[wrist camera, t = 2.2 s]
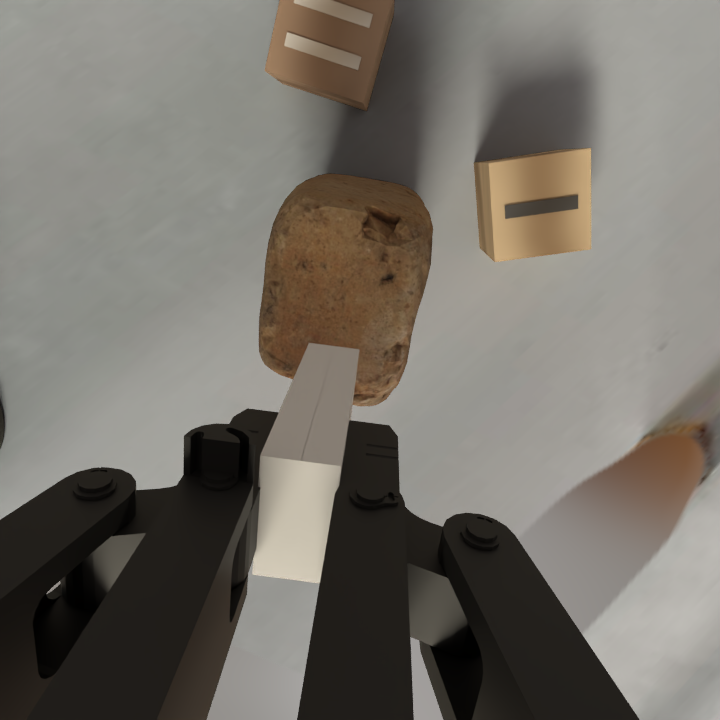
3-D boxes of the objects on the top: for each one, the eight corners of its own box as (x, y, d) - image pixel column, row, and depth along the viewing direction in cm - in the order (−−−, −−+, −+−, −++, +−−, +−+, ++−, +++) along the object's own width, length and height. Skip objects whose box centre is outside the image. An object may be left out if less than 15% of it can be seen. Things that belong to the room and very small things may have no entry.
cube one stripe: (479, 247, 41) (495, 262, 35) (473, 162, 39) (489, 163, 33) (562, 236, 40) (591, 249, 35) (560, 149, 38) (591, 147, 33)
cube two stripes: (282, 83, 38) (264, 70, 32) (305, -16, 36) (289, -49, 30) (366, 111, 38) (363, 102, 32) (393, 14, 36) (395, -13, 30)
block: (323, 164, 39) (266, 169, 20) (425, 187, 39) (463, 215, 21) (296, 308, 43) (228, 425, 24) (390, 329, 43) (394, 460, 24)
